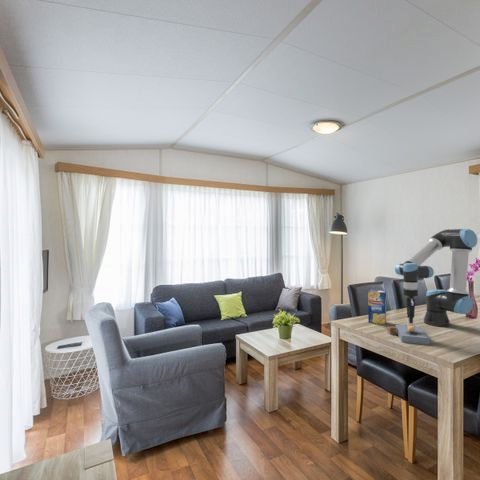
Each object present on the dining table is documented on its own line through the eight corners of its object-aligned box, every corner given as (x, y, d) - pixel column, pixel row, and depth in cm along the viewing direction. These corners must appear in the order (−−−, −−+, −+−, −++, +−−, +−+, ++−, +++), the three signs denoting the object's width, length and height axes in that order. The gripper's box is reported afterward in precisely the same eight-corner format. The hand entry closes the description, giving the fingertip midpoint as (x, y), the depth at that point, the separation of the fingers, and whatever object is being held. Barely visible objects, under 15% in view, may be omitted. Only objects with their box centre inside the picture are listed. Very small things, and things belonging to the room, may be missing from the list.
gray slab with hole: (395, 330, 193) (395, 324, 193) (420, 332, 189) (420, 326, 189) (401, 341, 173) (401, 335, 173) (429, 344, 168) (429, 338, 168)
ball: (415, 333, 176) (414, 331, 180) (415, 327, 176) (414, 325, 180) (408, 332, 178) (407, 331, 181) (408, 326, 178) (407, 325, 181)
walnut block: (393, 332, 190) (393, 326, 190) (396, 334, 186) (396, 328, 186) (387, 332, 190) (387, 326, 190) (390, 334, 186) (389, 328, 186)
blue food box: (385, 324, 207) (385, 292, 206) (368, 322, 212) (368, 291, 212) (386, 321, 213) (386, 290, 212) (369, 319, 218) (369, 289, 218)
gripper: (401, 286, 189) (401, 324, 189) (405, 290, 177) (405, 330, 177) (415, 287, 187) (415, 325, 187) (420, 291, 174) (420, 331, 175)
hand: (410, 327), depth 182 cm, fingers closed
